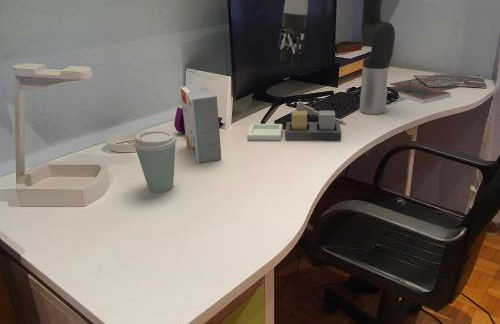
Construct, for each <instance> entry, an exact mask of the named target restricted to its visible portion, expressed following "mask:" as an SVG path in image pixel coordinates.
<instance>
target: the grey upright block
mask: <svg viewBox="0 0 500 324" xmlns="http://www.w3.org/2000/svg"><path fill="white" fill-rule="evenodd" d="M318 112H319V116H318V122H319V131H335V118H336V112H335V110H319V111H318Z"/></svg>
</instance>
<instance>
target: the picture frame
mask: <svg viewBox="0 0 500 324" xmlns="http://www.w3.org/2000/svg"><path fill="white" fill-rule="evenodd" d="M388 87H389V88H393V89H395V90H396V91H397V92H398V94H399V96H401V97H400V98H403V97H404V99H406V100H410V101H413V102H417V103H419V104H426V103H429V102H431V103H432V102H434V101H438V100H442V99H446V98H451V96H452V92H450V91H449V92H448V91H445V90H441V89H437V88H432V87H428V86H424V85H420V84H416V83H413V82H409V83H404V84H400V85H399V84H398V85H394V86H388ZM399 96H398V97H399Z"/></svg>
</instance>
